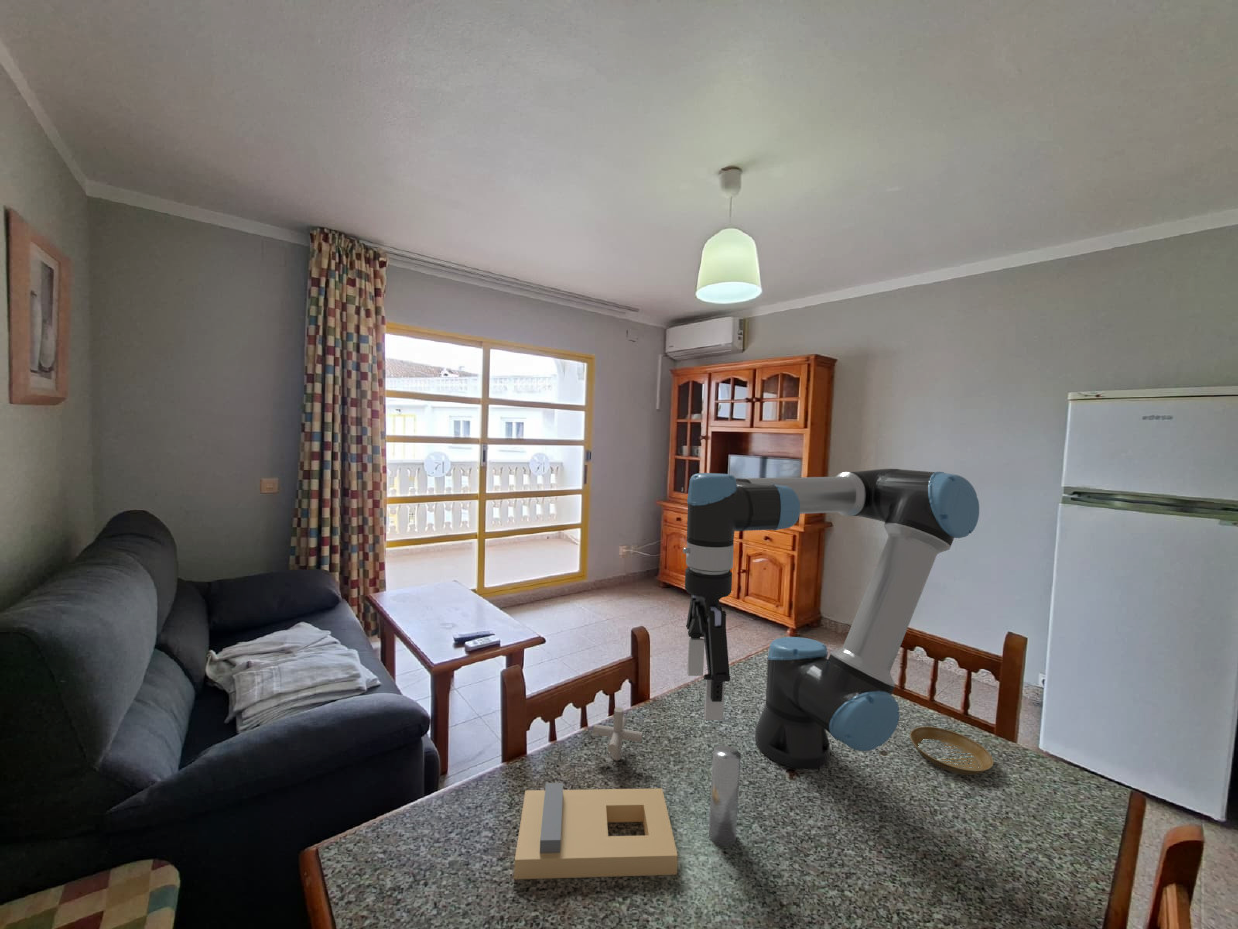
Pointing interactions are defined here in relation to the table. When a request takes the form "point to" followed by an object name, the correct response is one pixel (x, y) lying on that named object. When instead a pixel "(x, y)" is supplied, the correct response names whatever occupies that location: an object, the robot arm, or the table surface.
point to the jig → (593, 834)
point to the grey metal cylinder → (724, 795)
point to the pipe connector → (617, 733)
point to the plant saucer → (961, 743)
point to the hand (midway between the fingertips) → (703, 695)
